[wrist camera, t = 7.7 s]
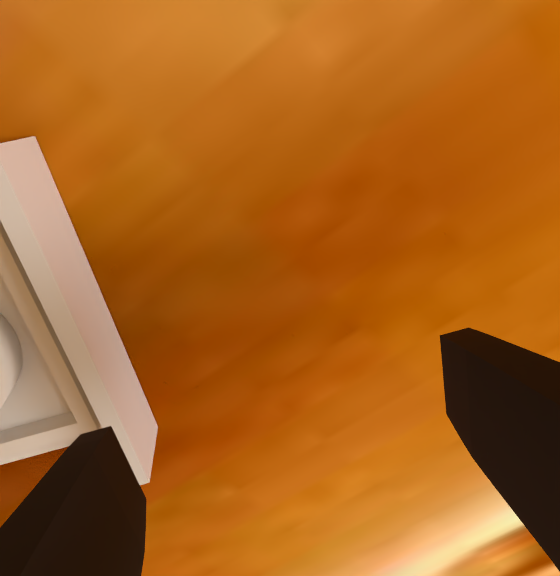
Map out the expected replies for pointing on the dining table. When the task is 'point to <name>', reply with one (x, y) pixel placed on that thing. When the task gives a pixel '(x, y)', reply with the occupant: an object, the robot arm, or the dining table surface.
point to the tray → (60, 327)
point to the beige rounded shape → (9, 359)
